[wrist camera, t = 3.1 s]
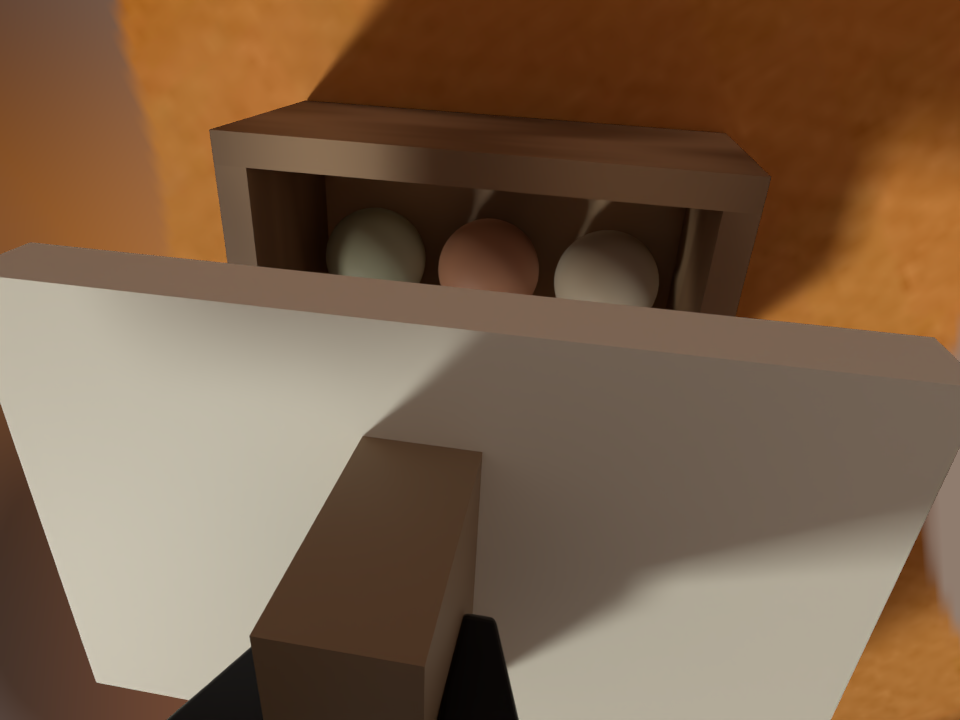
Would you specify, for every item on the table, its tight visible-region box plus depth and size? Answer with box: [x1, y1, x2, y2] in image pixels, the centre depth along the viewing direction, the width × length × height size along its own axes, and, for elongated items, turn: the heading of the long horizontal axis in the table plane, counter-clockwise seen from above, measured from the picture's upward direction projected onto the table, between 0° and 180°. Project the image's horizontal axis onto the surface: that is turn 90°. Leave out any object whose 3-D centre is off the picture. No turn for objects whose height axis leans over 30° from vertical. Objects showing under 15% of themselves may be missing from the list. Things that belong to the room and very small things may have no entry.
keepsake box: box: [209, 101, 771, 317], centre depth 17 cm, size 11×7×5 cm, turn 87°
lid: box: [0, 243, 960, 720], centre depth 9 cm, size 12×8×5 cm, turn 87°
